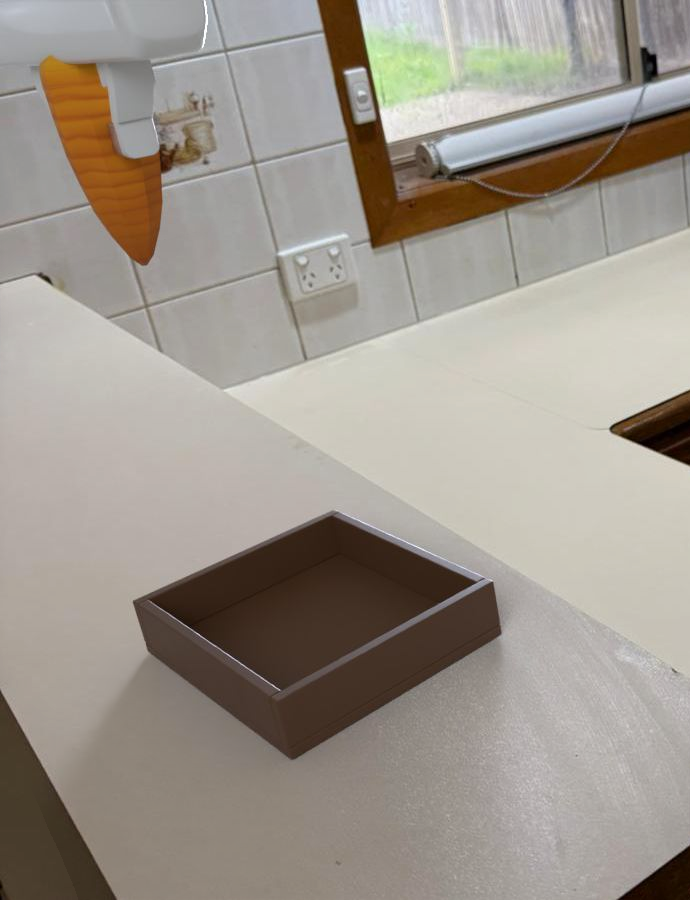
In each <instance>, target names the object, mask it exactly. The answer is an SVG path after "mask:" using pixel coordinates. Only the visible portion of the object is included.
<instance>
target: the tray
mask: <svg viewBox="0 0 690 900" xmlns="http://www.w3.org/2000/svg"><path fill="white" fill-rule="evenodd" d="M132 604H133V608H134V611H135V614H136V618H137V622H138V624H139V627H140V631H141V634H142V637H143V640H144V643H145V647H146V651H147V652H148V653H149V654H151V656H153V657H155V658H156V659H157V660H159V661H160V662H161V663H163V664H164V665H165V666H166V667H168V668H169V669H171V670H172V671H173V672H174V673H176V674H177V675H178V676H180V677H181V678H182V679H183V680H185V681H186V682H188V683H189V684H190V685H192V686H193V687H194V688H195V689H197V690H198V691H199V692H201V693H202V694H204V695H205V696H206V697H208V699H210V700H211V701H213V702H214V703H216V704H217V705H218V706H220V707H221V708H222V709H223V710H225V711H226V712H228V713H229V714H230V715H231V716H233V717H234V718H235V719H237V720H238V721H239V722H241V723H242V724H243V725H245V726H246V727H247V728H249V729H250V730H251V731H253V732H254V733H255V734H257V735H259V737H261V738H262V739H264V740H265V742H267V743H268V744H269V745H271V746H273V747H274V748H275V749H276V750H277V751H279V752H281V753H282V754H283V755H285V756H286V757H287V758H288V759H290V760H294V759H296V758H297V757H299V756H301V755H303V754H304V753H306V752H308V751H310V750H312V749H313V748H314V747H316V746H318V745H319V744H322V743H323V742H325V741H326V740H327V739H329V738H332V737H333V736H335V735H336V734H338V733H340V732H341V731H342V730H344V729H346V728H348V727H349V726H351V725H353V724H354V723H356V722H358V721H359V720H361V719H363V718H364V717H366V716H367V715H369V714H371V713H373V712H374V711H376V710H377V709H379V708H381V707H382V706H384V705H387V704H388V703H389V702H391V701H393V700H395V699H397V698H398V697H399V696H401V695H403V694H404V693H407V692H408V691H409V690H412V689H413V688H414V687H416V686H419V684H421V683H423V682H424V681H427V680H428V679H429V678H431V677H433V676H434V675H436V674H437V673H440V672H441V671H442V670H444V669H446V668H448V667H449V666H451V665H452V664H454V663H456V662H458V661H459V660H461V659H463V658H465V657H466V656H468V655H469V654H471V653H473V652H474V651H475V650H478V649H479V648H481V647H482V646H484V645H486V644H488V643H489V642H491V641H492V640H494V639H496V638H498V637H499V636H501V635H502V628H501V627H502V626H501V620H500V615H499V614H500V613H499V608H498V601H497V596H496V589H495V582H494V581H493V580H492V579H489V578H486V577H484V576H483V575H481V574H479V573H476V572H473V571H471V570H469V569H467V568H466V567H462V566H461V565H459V564H456V563H454V562H451V561H449V560H447V559H445V558H443V557H441V556H438V555H436V554H434V553H432V552H430V551H427V550H425V549H423V548H421V547H419V546H416V545H414V544H412V543H409V542H407V541H405V540H404V539H401V538H399V537H396V536H394V535H392V534H389V533H388V532H385V531H383V530H381V529H379V528H377V527H375V526H372V525H370V524H368V523H365V522H363V521H361V520H359V519H356V518H354V517H352V516H350V515H347V514H346V513H343V512H340V511H339V510H337V509H332V510H330V511H327V512H325V513H322V514H320V515H318V516H316V517H314V518H312V519H310V520H307V521H305V522H303V523H301V524H299V525H297V526H294V527H292V528H290V529H288V530H286V531H284V532H280V533H279V534H277V535H274V536H273V537H270V538H268V539H266V540H263V541H261V542H260V543H257V544H255V545H252V546H251V547H248V548H246V549H243V550H242V551H240V552H237V553H235V554H233V555H231V556H228V557H226V558H224V559H221V560H220V561H217V562H214V563H213V564H211V565H208V566H206V567H204V568H202V569H199V570H198V571H195V572H193V573H191V574H188V575H187V576H184V577H182V578H180V579H177V580H175V581H173V582H171V583H168V584H167V585H164V586H162V587H160V588H158V589H156V590H154V591H151V592H149V593H147V594H145V595H142V596H140V597H138V598H136V599H134V600H132Z"/></svg>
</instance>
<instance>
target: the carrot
mask: <svg viewBox="0 0 690 900" xmlns="http://www.w3.org/2000/svg"><path fill="white" fill-rule="evenodd" d="M39 74H40V79H41V83H42V86H43V89H44V92H45V96H46V99H47V102H48V105H49V108H50V111H51V113H50V115H51V117H52V120H53V123H54V125H55V128H56V131H57V134H58V137H59V139H60V143H61V145H62V148H63V150H64V153H65V156H66V158H67V160H68V163H69V165H70V167H71V169H72V171H73V174H74V176H75V178H76V180H77V182H78V184H79V186H80V188H81V190H82V192H83V194H84V195H85V198H86V200H87V202H88V203H89V205H90V207H91V209H92V211H93V213H94V214H95V216H96V217H97V218H98V220H99V222H100V223H101V224H102V226H103V227H104V229H106V231H107V233H108V234H109V235H110V237H111V238H112V239H113V240H114V242H116V243H117V245H118V246H119V247H120V248H121V249H122V250H123V252H125V253H126V255H127V256H128V257H129V258H130V259H131V261H133V262H135V263H137V264H138V265H140V266H142V267H145V266H148V265H149V263H150V261H151V260H152V258H153V257H154V255H155V251H156V246H157V243H158V238H159V235H160V229H161V222H162V221H161V220H162V214H163V213H162V211H163V202H164V201H163V182H162V167H161V158H160V157H161V156H160V149H159V150H158V152H157V153H156V154H154V155H151V156H146V157H141V158H136V159H130V158H121V157H119V156H117V155H116V154H115V153H114V151H113V148H112V141H111V139H110V137H109V133H108V130H107V126H106V123H111V122H112V120H111V111H110V103H109V94H108V87H103V86H102V84H101V81H100V77H99V74H98V70H97V67H96V63H90V64H66V63H63V62H60V61H58V60H57V59H55V58H54V57H53V56H51V55H50V56H48V57H47V58H46V59H44V60H43V61H42V62H41V63H40V65H39ZM50 111H49V112H50ZM152 119H153V122H154V123H155V120H154V116H153V117H152ZM155 125H156V124H154V126H155ZM155 127H156V126H155Z"/></svg>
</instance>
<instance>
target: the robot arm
mask: <svg viewBox="0 0 690 900" xmlns="http://www.w3.org/2000/svg"><path fill="white" fill-rule="evenodd" d="M207 12H208V11H207V5H206V0H0V69H13V68H14V69H16V68H29V69H30V73H31V76H32V80H33V83H34V86H35V89H36V91H37V94H38V95H39V96H40V98H41V100H42V101H43V103H44V105H45V106H46V108H47V109H48V112H49V113H50V114H51V111H50V108H49V105H48V102H47V99H46V96H45V92H44V89H43V86H42V83H41V79H40V74H39V65H40V63H41V62H42V61H43V60H44V59H46V58H47V57H48V56H50V55H51V56H53V57H54V58H55V59H57V60H58V61H60V62H63V63H66V64H90V63H96V67H97V70H98V74H99V77H100V81H101V84H102V86H103V87H108V94H109V103H110V111H111V120H112V122H111V123H106V126H107V130H108V133H109V137H110V139H111V141H112V148H113V151H114V153H115V154H116V155H117V156H119V157H121V158H130V159H136V158H141V157H146V156H151V155H154V154H156V153H157V152H158V150H159V151H160V142H159V139H158V134H157V130H156V126H154V125H155V121H154V122H153V120H154V111H155V109H154V108H155V94H156V77H155V73H154V70H153V65H152V62H151V60H157V59H165V58H171V57H177V56H183V55H188V54H194V53H199V52H200V51H201V50H202V49H203V48H204V44H205V40H206V33H207V25H208V14H207ZM152 117H153V119H152Z"/></svg>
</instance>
